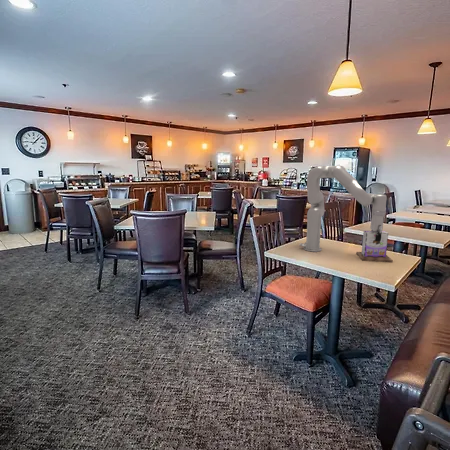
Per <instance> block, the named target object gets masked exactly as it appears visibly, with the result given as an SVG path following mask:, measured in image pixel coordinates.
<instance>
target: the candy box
mask: <svg viewBox="0 0 450 450" xmlns="http://www.w3.org/2000/svg"><path fill="white" fill-rule="evenodd" d="M375 237H376V231H371V230H363V236H362V244H361V252H362V253H361V254H362V255H363V256H369V257H386V255H387V250H388V239H389V232H387V231H385V230H382V235H381V241H375Z"/></svg>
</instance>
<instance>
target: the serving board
mask: <svg viewBox="0 0 450 450" xmlns="http://www.w3.org/2000/svg"><path fill="white" fill-rule="evenodd" d="M361 253H362V251H356V253H355V254H356V255H357V256H358V258H359V259H360V260H361V261H362V262H363V261H364V262H378V263H381V262H382V263H393V259H392V258H391V257H390V256H388V255H387V254H386V257H369V256H363V255H362V254H361Z"/></svg>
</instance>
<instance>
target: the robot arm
mask: <svg viewBox="0 0 450 450" xmlns="http://www.w3.org/2000/svg"><path fill="white" fill-rule="evenodd" d="M346 169H347V168H346V167H344V166H343V165H317V166H315V167H313V168H311V170H310V171H309V172H308V174H307V178H306V185H307V187H306V189H307V190H306V191H307V202H308V203H309V204H310V208H309V209H308V210H307V214H306V221H307V223H306V240H305V242H304V243H301V242H300V243H299V247H303V250H305V251H306V252H317V253H318V252H321V251H322V247H320V245H321V244H320V243H321V231H322V230H321V228H322V217H323V216H324V214H325V197H324V193H323V192H322V191H321V189H320V188H321V184H320V179H335V180H336V181H337V182H339V184H341V186H342V187H344V189H345V190H346V191H347V192H348V193H349V194H350V195H351V196H352V197H353V199H355V200H356V202H358V203H359V204H360V205H362V206H364V207H368V206H370V205H372V209H371V221H370V228H369V229H370V231H376V237H375V241H381V235H382V231H383V228H384V217H385V216H386V208H387V207H386V206H387V195H386V194H381V193H379V194H378V193H377V194H376V193H368V192H367V191H365V189H363V188H362V186H361V185H360V184H359V182H358V180H357V179H356V178H355V177H354V176H353V175H352V174H351V173H349V172H348V170H346Z"/></svg>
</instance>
